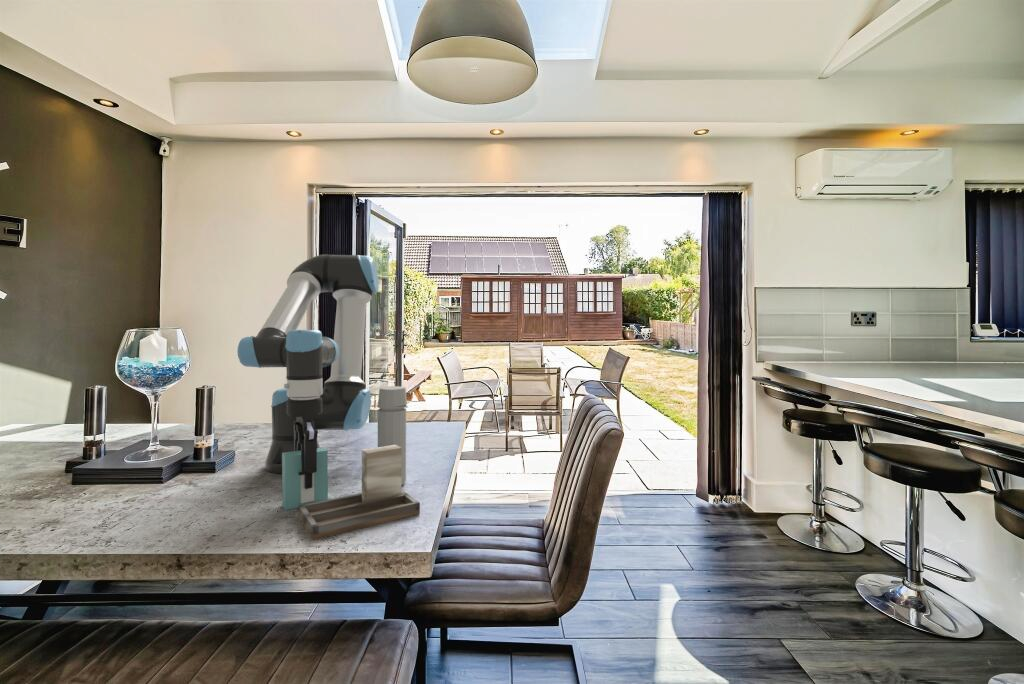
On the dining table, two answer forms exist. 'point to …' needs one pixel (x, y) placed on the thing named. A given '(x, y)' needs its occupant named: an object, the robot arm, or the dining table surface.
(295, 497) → the teal door
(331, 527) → the track base
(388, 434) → the water bottle
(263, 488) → the dining table surface
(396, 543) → the dining table surface
